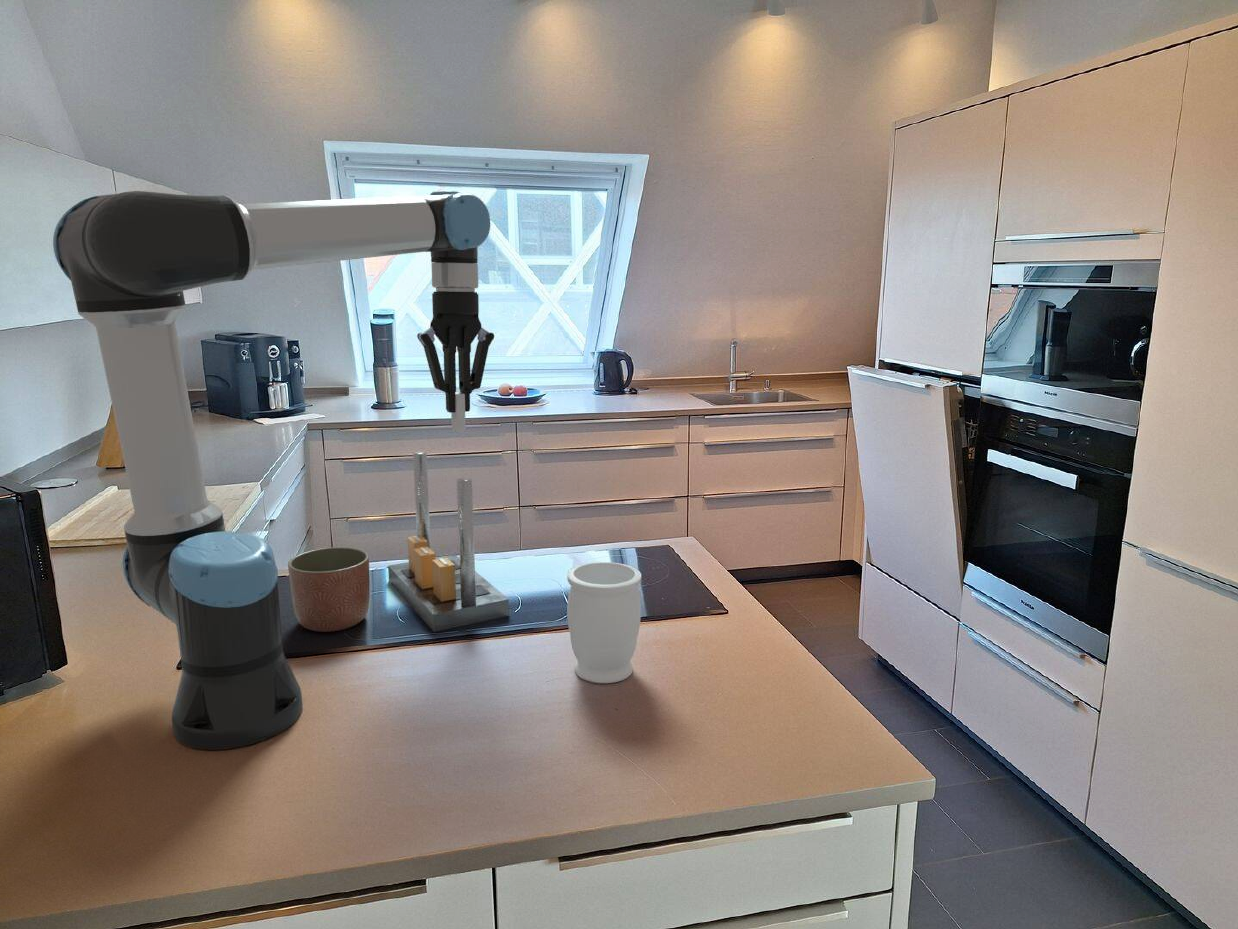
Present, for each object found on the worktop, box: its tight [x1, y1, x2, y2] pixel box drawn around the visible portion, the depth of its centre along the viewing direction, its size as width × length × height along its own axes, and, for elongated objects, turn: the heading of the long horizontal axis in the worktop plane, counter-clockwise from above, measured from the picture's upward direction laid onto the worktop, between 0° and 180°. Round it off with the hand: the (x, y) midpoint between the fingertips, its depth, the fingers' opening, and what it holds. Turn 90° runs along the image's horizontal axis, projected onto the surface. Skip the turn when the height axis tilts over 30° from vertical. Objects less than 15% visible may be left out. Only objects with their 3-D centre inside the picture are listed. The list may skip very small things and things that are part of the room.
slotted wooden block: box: [432, 558, 456, 602], centre depth 137 cm, size 4×2×6 cm, turn 31°
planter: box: [287, 546, 371, 633], centre depth 133 cm, size 12×12×11 cm
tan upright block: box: [414, 547, 436, 589], centre depth 142 cm, size 4×2×6 cm, turn 31°
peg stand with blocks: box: [387, 451, 510, 633], centre depth 143 cm, size 26×13×24 cm, turn 31°
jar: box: [566, 561, 642, 684], centre depth 117 cm, size 11×10×15 cm
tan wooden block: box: [407, 535, 428, 574], centre depth 148 cm, size 4×2×6 cm, turn 31°
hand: (458, 430), depth 140 cm, fingers closed
